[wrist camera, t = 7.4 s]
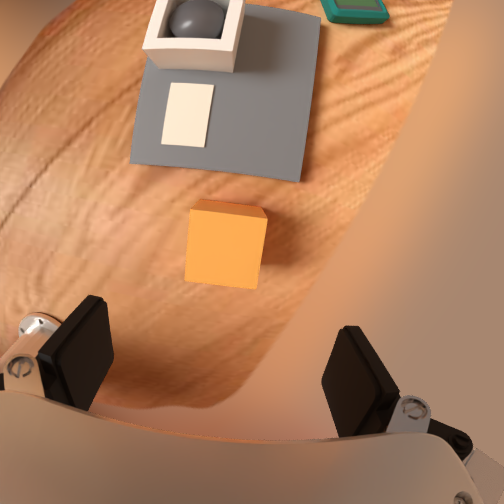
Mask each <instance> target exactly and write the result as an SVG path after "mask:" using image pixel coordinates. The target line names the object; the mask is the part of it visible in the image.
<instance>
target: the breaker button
mask: <svg viewBox="0 0 504 504" xmlns="http://www.w3.org/2000/svg"><path fill="white" fill-rule="evenodd" d="M169 26H170V29H171V31H172V33H173V35H174V37H175V38H206V39H221V37H222V33H223V28H224V15H223V11H222V9H221V7H220V6H219V5H218V4H217V3H215V2H213V1H211V0H190V1H187V2H185V3H183V4H181V5H180V6H178V7H177V8H176V9H175V10H174V11H173V13H172V14H171V16H170V19H169Z"/></svg>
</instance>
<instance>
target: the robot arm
mask: <svg viewBox="0 0 504 504" xmlns="http://www.w3.org/2000/svg"><path fill="white" fill-rule="evenodd" d="M113 359H114V353H113V346H112V340H111V333H110V325H109V317H108V308H107V303H106V302H105V301H104V300H103V298H102V297H98V296H93V295H88V296H87V297H86V298H85V299H84V300H83V301H82V302H81V304H80V305H79V306H78V307H77V308H76V309H75V310H74V311H73V312H72V313H71V314H70V315H69V316H68V318H67V319H66V320H65V321H64V322H63V323H62V324H61V323H59V322H58V321H57V320H55V319H53V318H52V317H50V316H48V315H45V314H42V313H30V314H29V315H27V316H26V317H25V318H24V319H22V321H21V323H20V325H19V339H18V340H17V341H16V342H15V343H14V344H13V345H12V346H11V347H10V348H9V349H8V350H7V351H6V353H5V354H4V355H3V356H2V357H1V358H0V504H497V503H498V501H499V499H500V497H501V495H502V493H503V491H504V467H503V466H502V465H500V464H499V463H497V462H496V461H495V460H493V459H492V458H490V457H489V456H487V455H486V454H485V453H483V452H482V451H480V450H479V449H477V448H476V449H475V450H473V443H472V440H471V439H470V437H469V436H468V435H467V434H466V433H464V432H462V431H460V430H458V429H455V428H453V427H450V426H448V425H445V424H443V423H441V422H438V421H436V420H433V419H431V418H430V417H431V410H430V407H429V405H428V404H427V403H426V402H425V401H424V400H423V399H421V398H419V397H416V396H410V395H407V396H403V397H402V398H401V397H400V395H399V392H400V390H399V389H398V387H397V385H396V384H395V382H394V381H393V379H392V377H391V376H390V374H389V372H388V371H387V369H386V368H385V366H384V364H383V363H382V361H381V360H380V358H379V356H378V355H377V353H376V352H375V350H374V349H373V347H372V346H371V344H370V343H369V341H368V339H367V338H366V336H365V335H364V333H363V332H362V330H361V329H360V327H359V326H344V328H343V329H340V330H339V332H338V335H337V338H336V341H335V344H334V347H333V350H332V352H331V355H330V358H329V360H328V363H327V366H326V369H325V371H324V374H323V376H322V387H323V390H324V393H325V396H326V399H327V402H328V405H329V408H330V411H331V414H332V417H333V420H334V423H335V426H336V429H337V433H338V436H339V438H328V439H314V440H278V441H277V440H243V439H228V438H217V437H207V436H198V435H190V434H184V433H177V432H171V431H165V430H160V429H154V428H150V427H144V426H140V425H135V424H131V423H127V422H123V421H119V420H115V419H112V418H108V417H104V416H101V415H97V414H94V413H91V412H88V410H89V407H90V405H91V403H92V401H93V399H94V397H95V395H96V393H97V391H98V389H99V387H100V385H101V383H102V381H103V380H104V378H105V376H106V374H107V372H108V370H109V368H110V366H111V364H112V362H113Z"/></svg>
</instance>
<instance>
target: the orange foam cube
mask: <svg viewBox="0 0 504 504" xmlns="http://www.w3.org/2000/svg"><path fill="white" fill-rule="evenodd" d="M267 221H268V219H267V217H266V215H265V213H264V211H263V209H262V208H261V207H258V206H250V205H243V204H235V203H227V202H219V201H211V200H202V199H200V200H199V201H198V202H197V203H196V204H195V205H194V206H193V207H192V208H191V209H190V218H189V229H188V240H187V253H186V266H185V281H190V282H197V283H205V284H213V285H222V286H230V287H239V288H248V289H256V287H257V281H258V275H259V269H260V263H261V257H262V251H263V245H264V239H265V233H266V227H267Z"/></svg>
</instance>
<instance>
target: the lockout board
mask: <svg viewBox="0 0 504 504" xmlns="http://www.w3.org/2000/svg"><path fill="white" fill-rule="evenodd" d="M187 1H190V0H157V1H156V4H155V7H154V10H153V13H152V16H151V19H150V23H149V26H148V29H147V33H146V36H145V40H144V44H143V47H142V50H143V51H144V52H145V53H146V54H147V56H148V57H147V61H146V66H145V70H144V75H143V79H142V84H141V89H140V95H139V100H138V106H137V112H136V118H135V124H134V131H133V139H132V147H131V155H130V164H145V165H160V166H173V167H185V168H195V169H205V170H215V171H223V172H232V173H240V174H247V175H254V176H261V177H268V178H275V179H281V180H287V181H294V182H300V175H301V169H302V163H303V156H304V150H305V143H306V136H307V129H308V122H309V115H310V108H311V100H312V93H313V85H314V77H315V69H316V60H317V51H318V42H319V33H320V23H321V18H320V17H316V16H312V15H308V14H304V13H299V12H295V11H290V10H285V9H279V8H273V7H267V6H260V5H252V4H245V0H211V1H213V2H215V3H217V4H218V5H219V6H220V7H221V9H222V11H223V15H224V28H223V33H222V37H221V39H206V38H175V37H174V35H173V33H172V31H171V29H170V26H169V19H170V16H171V14H172V13H173V11H174V10H175V9H176V8H177V7H178V6H180V5H181V4H183V3H185V2H187Z"/></svg>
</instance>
